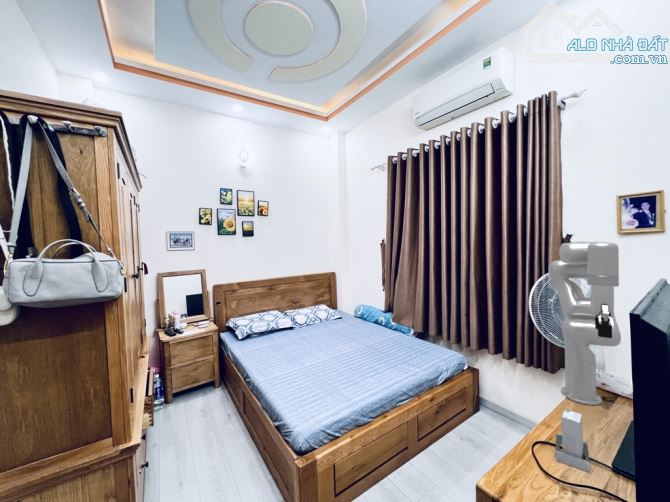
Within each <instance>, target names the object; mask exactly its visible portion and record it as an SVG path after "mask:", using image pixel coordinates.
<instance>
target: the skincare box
mask: <svg viewBox="0 0 670 502" xmlns="http://www.w3.org/2000/svg"><path fill="white" fill-rule="evenodd" d="M583 428H584V427H583V415H582V414H581V413H579V412H575V411H572V410H567V409H564V411H563V412H562V415H561V434H562V442H563V444H562V453H565V454H568V455H571V456H574V457H577V458H580V459H583V460H584V458H585V456H584V449H583V441H584V434H583V433H584V430H583Z"/></svg>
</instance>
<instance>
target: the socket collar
mask: <svg viewBox="0 0 670 502" xmlns="http://www.w3.org/2000/svg"><path fill="white" fill-rule="evenodd" d="M555 435H556V437H555V461H556V462H560V463H562V464H564V465H568V466H569V467H573V468H576V469H579V470H581V471H584V472H587V473H591V463H590V461H591V460H590V454H589V447H588V441H584V440H583V449H584V458H583V459H580V458H577V457H574V456H571V455H568V454H565V453H563V451H561V449H560V448H561V447H560V444H561V445H563V442H562V433H558V432H556V434H555Z"/></svg>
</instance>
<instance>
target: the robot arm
mask: <svg viewBox="0 0 670 502" xmlns="http://www.w3.org/2000/svg"><path fill="white" fill-rule="evenodd" d="M558 251H559V253H558V255H559V259H558V260H554V261H552V262H550V263H549V265H548V276H549V278H550V281H551V283H552V285H553V286H554V289H556V291H557V293H558V297H559V303H560V307H561V311H562V313H563V315H564V317H566V318H567V319H566V320H564V321H563V322H562V323H561V331H562V337H563V342H564V376H565V377H564V380H565V381H564V382H565V385H564V386H563V387H561V389H560V394H561V395H562V396H563V397H564V398H566V399H568V398H569V399H568V400H571V401H573V402H575V403H578V404H582V405H588V406H598V405H600V404H601V405H602V403H603V402H602V397H601V396H599V395H598V394H597V363H596V362H597V358H596V355H595V353H594V352H593V350H591V349H590V347H589V346H590V345H591V346H593V345H594V346H601V347H617V346H619V345H620V343H621V342H622V335H621V331H620V328H619V325H618V322H617V319H616V317H615V314H614V313H615V288H617V287H620V276H619V275H620V272H619V271H620V269H619V267H620V265H619V264H620V263H619V255H620V254H619V253H620V252H619V251H620V250H619V246H618V244H617V243H614V242H609V241H608V242H607V241H571V242H564V243H562V244H561V245H560V247H559V250H558ZM571 279H581V280H582V279H583V280H584V279H585V280H586V281H587V282H586V285H588V286H591V287H590V297H585V296H584V291H583V289H582V287H580V286H579V285H578V283H576V282H575V281H573V280H571ZM588 345H589V346H588ZM571 393H572V394H571ZM570 394H571V395H570ZM569 395H570V396H569ZM568 396H569V397H568ZM567 397H568V398H567Z"/></svg>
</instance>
